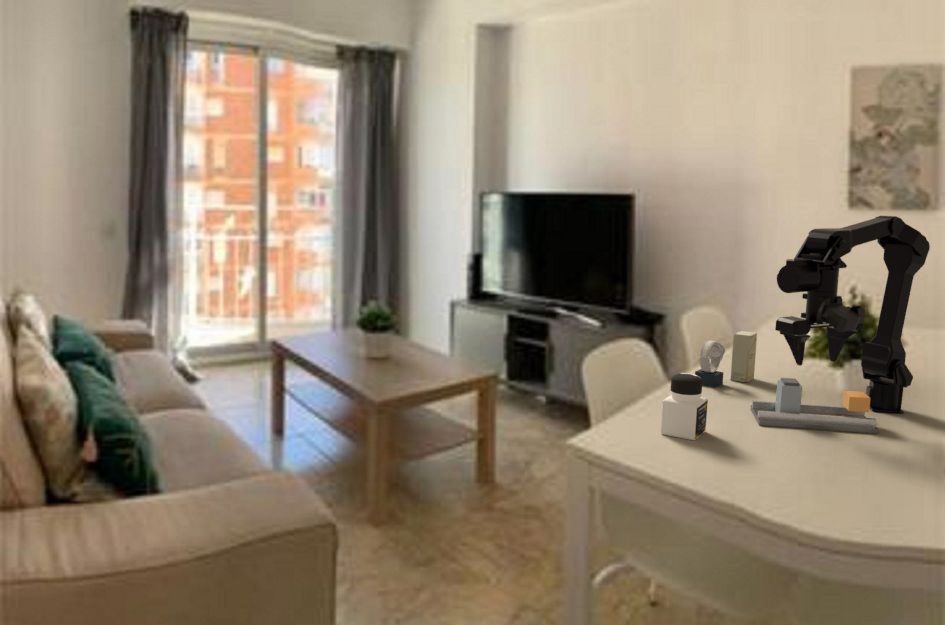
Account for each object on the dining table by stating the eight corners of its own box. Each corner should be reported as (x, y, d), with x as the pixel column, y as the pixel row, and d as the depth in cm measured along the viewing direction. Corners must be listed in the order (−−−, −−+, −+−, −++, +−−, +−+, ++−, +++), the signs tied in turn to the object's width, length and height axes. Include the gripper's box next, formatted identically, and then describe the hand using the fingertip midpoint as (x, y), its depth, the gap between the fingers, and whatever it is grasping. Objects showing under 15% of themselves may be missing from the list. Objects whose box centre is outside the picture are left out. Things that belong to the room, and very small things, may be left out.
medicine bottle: (695, 441, 155) (699, 381, 153) (660, 434, 159) (663, 376, 157) (705, 431, 161) (710, 374, 159) (671, 425, 165) (675, 369, 163)
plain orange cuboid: (862, 405, 169) (863, 391, 169) (869, 412, 164) (870, 398, 164) (842, 404, 170) (843, 390, 170) (848, 410, 165) (849, 396, 165)
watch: (725, 382, 200) (728, 340, 198) (712, 389, 194) (715, 345, 192) (704, 379, 204) (707, 337, 202) (690, 384, 198) (693, 341, 196)
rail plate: (860, 416, 173) (861, 405, 173) (877, 434, 161) (878, 422, 161) (750, 409, 177) (751, 398, 177) (759, 425, 166) (760, 413, 165)
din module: (794, 412, 172) (797, 378, 171) (799, 418, 167) (802, 383, 166) (775, 410, 173) (777, 376, 172) (779, 417, 168) (782, 382, 167)
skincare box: (746, 383, 200) (750, 336, 198) (729, 380, 203) (732, 333, 201) (754, 378, 205) (758, 332, 203) (737, 375, 208) (740, 330, 206)
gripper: (817, 298, 154) (811, 376, 157) (888, 293, 161) (881, 368, 163) (776, 290, 164) (770, 363, 167) (844, 285, 171) (838, 356, 174)
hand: (816, 363), depth 167 cm, fingers open, 9 cm apart
